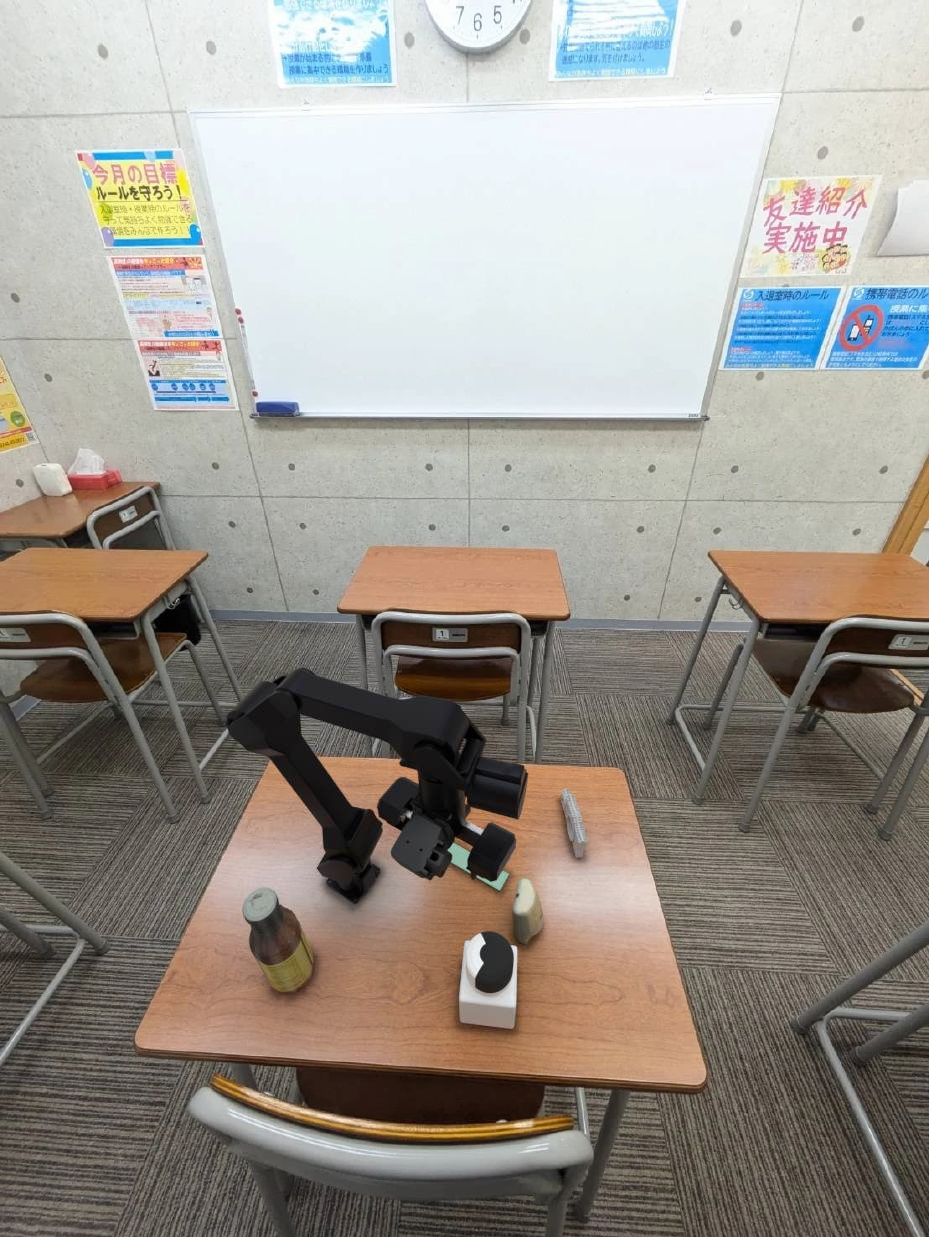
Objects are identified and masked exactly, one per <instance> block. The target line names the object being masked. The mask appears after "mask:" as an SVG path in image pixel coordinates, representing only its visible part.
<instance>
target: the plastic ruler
mask: <svg viewBox="0 0 929 1237" xmlns="http://www.w3.org/2000/svg"><path fill="white" fill-rule="evenodd" d="M448 851H449V852H450V853H451V854H452V856H453V857H452V861H451V862H450V864H452V865H454V866H456V867H457V868H459V869H460V870H462V871H464V872H466V873H468V874H469V875H470V871H469V870H467V869H466V867H467V866H468V865H467V859H468V857H469V854H470V851H469V850H467V849H466V848H464V847H462V846H461V845H458V843H455V842H454V843H453V844H452V846H451V847H450V849H448ZM509 876H510V873H508V872H506V871H504V870H503V871H502V872H501V874H500V876H499V878H498V879H497V880H496V881H492V882H490V881H488V880H487V879H485V878H481V877H479V876H476V878H475V879H477V880H479V881H481V882H482V883H485V884H486V885H488V886H490V887H492V888H493V889H494V890H496V891H498V892H501V890H502V889H503V886H504V885H505V883H506V881H507V879H508V878H509Z"/></svg>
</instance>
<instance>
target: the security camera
mask: <svg viewBox="0 0 929 1237" xmlns="http://www.w3.org/2000/svg"><path fill="white" fill-rule="evenodd" d="M463 943H464V944H463V954H462V963H461V974H460V983H459V984H460V985H459V994H458V1007H459V1008H458V1009H459V1011H458V1012H459V1022H460V1023H461V1024H468V1025H469V1024H470V1025H478V1026H486V1027H493V1028H502V1029H510V1030H513V1029H514V1028H515V1023H516V1022H515V1021H516V1013H517V1012H516V1011H517V991H518V990H517V988H518V947H517V946H516V945H512V944H511V943H510V942H509V940H508V939H507V938H506V937H505V936H503V935H502V934H500V933H499V932H498V931H497V932H496V931H492V930H485V931H481V932H479V933H477V934H476V935H474V936H473V937H472V938H471V939H470V940H465V941H464V942H463Z"/></svg>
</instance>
